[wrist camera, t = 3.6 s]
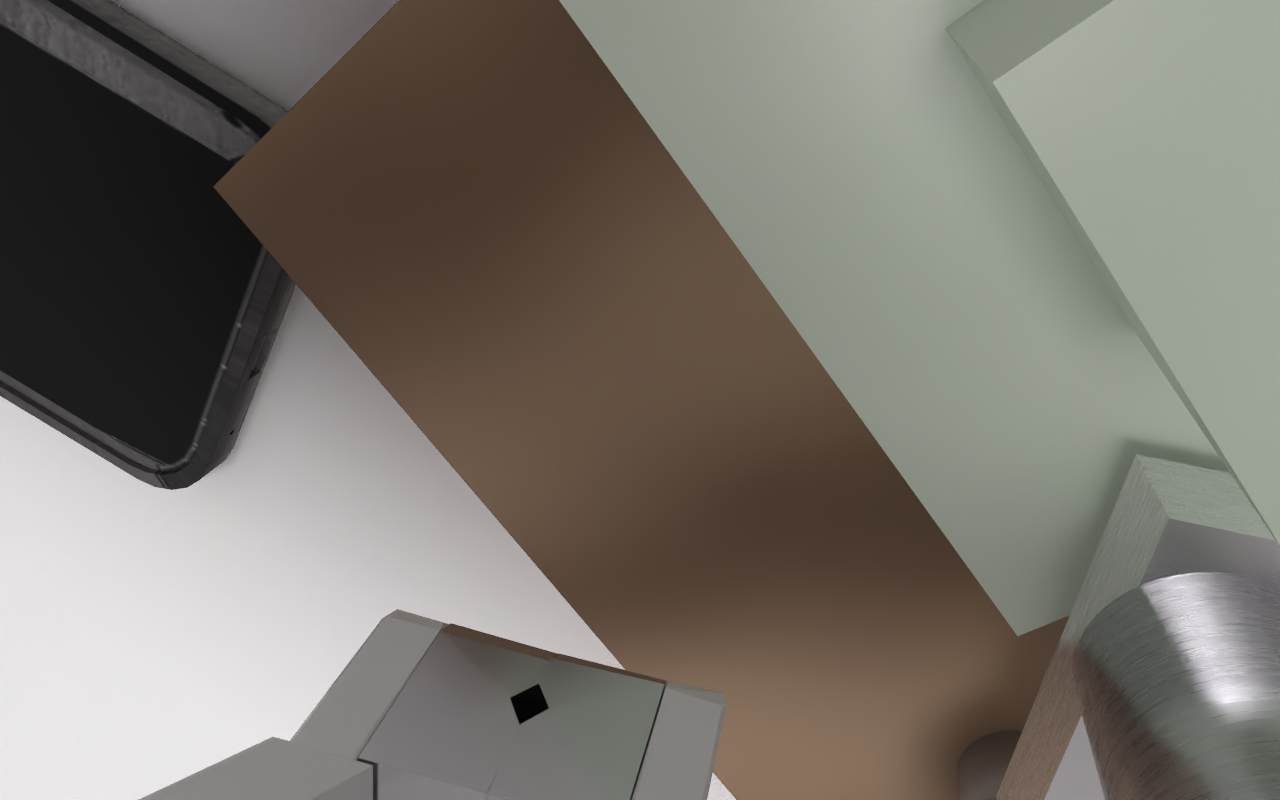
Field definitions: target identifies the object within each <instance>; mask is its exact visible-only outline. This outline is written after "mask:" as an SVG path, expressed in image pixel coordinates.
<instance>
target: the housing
mask: <svg viewBox="0 0 1280 800" xmlns="http://www.w3.org/2000/svg"><path fill="white" fill-rule="evenodd" d="M214 188H215V189H216V190H217V192H218V193H219V194H220V195H221V196H222V197H223V199H224V200H225V201H226V202H227V203H228V205H229V206H230V207H231V208H232V209H233V210H234V212H235V213H236V214H237V215H238V216H239V217H240V219H241V220H242V221H243V222H244V223H245V224H246V226H247V227H248V228H249V229H250V230H251V231H252V233H253V234H254V235H255V236H256V237H257V238H258V240H259V241H260V242H261V243H262V244H263V246H264V247H265V248H266V249H267V250H268V251H269V253H270V254H271V255H272V256H273V257H274V258H275V260H276V261H277V262H278V263H279V264H280V265H281V267H282V268H283V269H284V270H285V271H286V272H287V274H288V275H289V276H290V277H291V278H292V279H293V281H294V282H295V283H296V284H297V285H298V287H299V288H300V289H301V290H302V291H303V292H304V294H305V295H306V296H307V297H308V298H309V299H310V301H311V302H312V303H313V304H314V305H315V306H316V308H317V309H318V310H319V311H320V312H321V313H322V315H323V316H324V317H325V318H326V319H327V320H328V322H329V323H330V324H331V325H332V326H333V328H334V329H335V330H336V331H337V332H338V333H339V335H340V336H341V337H342V338H343V339H344V340H345V342H346V343H347V344H348V345H349V346H350V347H351V349H352V350H353V351H354V352H355V353H356V354H357V356H358V357H359V358H360V359H361V360H362V361H363V363H364V364H365V365H366V366H367V367H368V369H369V370H370V371H371V372H372V373H373V374H374V376H375V377H376V378H377V379H378V380H379V381H380V383H381V384H382V385H383V386H384V387H385V388H386V390H387V391H388V392H389V393H390V394H391V395H392V397H393V398H394V399H395V400H396V401H397V402H398V404H399V405H400V406H401V407H402V408H403V410H404V411H405V412H406V413H407V414H408V415H409V417H410V418H411V419H412V420H413V421H414V422H415V424H416V425H417V426H418V427H419V428H420V429H421V431H422V432H423V433H424V434H425V435H426V436H427V438H428V439H429V440H430V441H431V442H432V443H433V445H434V446H435V447H436V448H437V449H438V451H439V452H440V453H441V454H442V455H443V456H444V458H445V459H446V460H447V461H448V462H449V463H450V465H451V466H452V467H453V468H454V469H455V470H456V472H457V473H458V474H459V475H460V476H461V477H462V479H463V480H464V481H465V482H466V483H467V485H468V486H469V487H470V488H471V489H472V490H473V492H474V493H475V494H476V495H477V496H478V497H479V499H480V500H481V501H482V502H483V503H484V504H485V506H486V507H487V508H488V509H489V510H490V511H491V513H492V514H493V515H494V516H495V517H496V518H497V520H498V521H499V522H500V523H501V524H502V526H503V527H504V528H505V529H506V530H507V531H508V533H509V534H510V535H511V536H512V537H513V538H514V540H515V541H516V542H517V543H518V544H519V545H520V547H521V548H522V549H523V550H524V551H525V552H526V554H527V555H528V556H529V557H530V558H531V559H532V561H533V562H534V563H535V564H536V565H537V567H538V568H539V569H540V570H541V571H542V572H543V574H544V575H545V576H546V577H547V578H548V579H549V581H550V582H551V583H552V584H553V585H554V586H555V588H556V589H557V590H558V591H559V592H560V593H561V595H562V596H563V597H564V598H565V599H566V600H567V602H568V603H569V604H570V605H571V606H572V608H573V609H574V610H575V611H576V612H577V613H578V615H579V616H580V617H581V618H582V619H583V620H584V622H585V623H586V624H587V625H588V626H589V627H590V629H591V630H592V631H593V632H594V633H595V634H596V636H597V637H598V638H599V639H600V640H601V641H602V643H603V644H604V645H605V646H606V647H607V649H608V650H609V651H610V652H611V653H612V654H613V656H614V657H615V658H616V659H617V660H618V661H619V663H620V664H621V665H622V666H623V667H624V668H625V670H626V671H630V672H634V673H638V674H642V675H646V676H650V677H654V678H658V679H662V680H666V681H668V682H669V681H673V682H678V683H682V684H686V685H690V686H694V687H698V688H702V689H707V690H711V691H715V692H719V693H723V694H725V696H726V702H727V704H726V709H725V714H724V718H723V723H722V728H721V733H720V738H719V743H718V748H717V753H716V757H715V762H714V767H713V773H714V774H715V775H716V776H717V777H718V779H719V780H720V781H721V782H722V783H723V784H724V786H725V787H726V788H727V789H728V790H729V791H730V793H731V794H732V795H733V796H734V797H735V798H736V800H985V799H988V798H993V797H996V795H997V792H998V790H999V787H1000V785H1001V782H1002V780H1003V778H1004V775H1005V773H1006V770H1007V768H1008V765H1009V763H1010V760H1011V758H1012V756H1013V753H1014V751H1015V748H1016V746H1017V743H1018V741H1019V738H1020V736H1021V734H1022V731H1023V729H1024V726H1025V724H1026V721H1027V719H1028V717H1029V714H1030V712H1031V709H1032V707H1033V704H1034V702H1035V699H1036V697H1037V695H1038V692H1039V690H1040V687H1041V685H1042V682H1043V680H1044V678H1045V675H1046V673H1047V670H1048V668H1049V665H1050V663H1051V660H1052V658H1053V656H1054V653H1055V651H1056V648H1057V646H1058V643H1059V641H1060V638H1061V636H1062V634H1063V631H1064V629H1065V626H1066V624H1067V621H1068V619H1069V617H1070V615H1069V616H1067V617H1064V618H1062V619H1059V620H1057V621H1054V622H1052V623H1049V624H1047V625H1045V626H1042V627H1040V628H1037V629H1035V630H1032V631H1030V632H1027V633H1025V634H1022V635H1020V636H1017V635H1016V633H1015V632H1014V630H1013V629H1012V628H1011V626H1010V625H1009V624H1008V622H1007V621H1006V619H1005V618H1004V617H1003V615H1002V614H1001V612H1000V611H999V610H998V608H997V607H996V606H995V604H994V603H993V601H992V600H991V599H990V597H989V596H988V594H987V593H986V592H985V590H984V589H983V587H982V586H981V585H980V583H979V582H978V581H977V579H976V578H975V576H974V575H973V574H972V572H971V571H970V569H969V568H968V567H967V565H966V564H965V563H964V561H963V560H962V558H961V557H960V556H959V554H958V553H957V551H956V550H955V549H954V547H953V546H952V544H951V543H950V542H949V540H948V539H947V538H946V536H945V535H944V533H943V532H942V531H941V529H940V528H939V526H938V525H937V524H936V522H935V521H934V520H933V518H932V517H931V515H930V514H929V513H928V511H927V510H926V508H925V507H924V506H923V504H922V503H921V502H920V500H919V499H918V497H917V496H916V495H915V493H914V492H913V490H912V489H911V488H910V486H909V485H908V483H907V482H906V481H905V479H904V478H903V477H902V475H901V474H900V472H899V471H898V470H897V468H896V467H895V465H894V464H893V463H892V461H891V460H890V459H889V457H888V456H887V454H886V453H885V452H884V450H883V449H882V447H881V446H880V445H879V443H878V442H877V440H876V439H875V438H874V436H873V435H872V434H871V432H870V431H869V429H868V428H867V427H866V425H865V424H864V422H863V421H862V420H861V418H860V417H859V416H858V414H857V413H856V411H855V410H854V409H853V407H852V406H851V404H850V403H849V402H848V400H847V399H846V397H845V396H844V395H843V393H842V392H841V391H840V389H839V388H838V386H837V385H836V384H835V382H834V381H833V379H832V378H831V377H830V375H829V374H828V373H827V371H826V370H825V368H824V367H823V366H822V364H821V363H820V361H819V360H818V359H817V357H816V356H815V354H814V353H813V352H812V350H811V349H810V348H809V346H808V345H807V343H806V342H805V341H804V339H803V338H802V336H801V335H800V334H799V332H798V331H797V330H796V328H795V327H794V325H793V324H792V323H791V321H790V320H789V318H788V317H787V316H786V314H785V313H784V311H783V310H782V309H781V307H780V306H779V305H778V303H777V302H776V300H775V299H774V298H773V296H772V295H771V293H770V292H769V291H768V289H767V288H766V287H765V285H764V284H763V282H762V281H761V280H760V278H759V277H758V275H757V274H756V273H755V271H754V270H753V269H752V267H751V266H750V264H749V263H748V262H747V260H746V259H745V257H744V256H743V255H742V253H741V252H740V250H739V249H738V248H737V246H736V245H735V244H734V242H733V241H732V239H731V238H730V237H729V235H728V234H727V232H726V231H725V230H724V228H723V227H722V226H721V224H720V223H719V221H718V220H717V219H716V217H715V216H714V214H713V213H712V212H711V210H710V209H709V207H708V206H707V205H706V203H705V202H704V201H703V199H702V198H701V196H700V195H699V194H698V192H697V191H696V189H695V188H694V187H693V185H692V184H691V183H690V181H689V180H688V178H687V177H686V176H685V174H684V173H683V171H682V170H681V169H680V167H679V166H678V164H677V163H676V162H675V160H674V159H673V158H672V156H671V155H670V153H669V152H668V151H667V149H666V148H665V146H664V145H663V144H662V142H661V141H660V140H659V138H658V137H657V135H656V134H655V133H654V131H653V130H652V128H651V127H650V126H649V124H648V123H647V121H646V120H645V119H644V117H643V116H642V115H641V113H640V112H639V110H638V109H637V108H636V106H635V105H634V103H633V102H632V101H631V99H630V98H629V97H628V95H627V94H626V92H625V91H624V90H623V88H622V87H621V85H620V84H619V83H618V81H617V80H616V78H615V77H614V76H613V74H612V73H611V72H610V70H609V69H608V67H607V66H606V65H605V63H604V62H603V60H602V59H601V58H600V56H599V55H598V54H597V52H596V51H595V49H594V48H593V47H592V45H591V44H590V42H589V41H588V40H587V38H586V37H585V36H584V34H583V33H582V31H581V30H580V29H579V27H578V26H577V24H576V23H575V22H574V20H573V19H572V17H571V16H570V15H569V13H568V12H567V11H566V9H565V8H564V6H563V5H562V4H561V2H560V1H559V0H399V1H398V2H397V3H396V4H395V5H394V6H393V7H392V8H391V9H390V10H389V11H388V12H387V13H386V14H385V15H384V16H383V17H382V18H381V19H380V20H379V21H378V22H377V23H376V24H375V25H374V26H373V27H372V28H371V29H370V30H369V31H368V32H367V33H366V34H365V35H364V36H363V37H362V38H361V39H360V40H359V41H358V42H357V43H356V44H355V45H354V46H353V47H352V48H351V49H350V50H349V51H348V52H347V53H346V54H345V55H344V56H343V57H342V58H341V59H340V60H339V61H338V62H337V63H336V64H335V65H334V66H333V67H332V68H331V69H330V70H329V71H328V72H327V73H326V74H325V75H324V76H323V77H322V78H321V79H320V80H319V81H318V82H317V83H316V84H315V85H314V86H313V87H312V88H311V89H310V90H309V91H308V92H307V93H306V94H305V95H304V96H303V97H302V98H301V99H300V100H299V101H298V102H297V103H296V104H295V105H294V106H293V107H292V108H291V109H290V110H289V111H288V112H287V113H286V114H285V115H284V116H283V117H282V118H281V119H280V120H279V121H278V122H277V123H276V124H275V125H274V126H273V127H272V128H271V129H270V130H269V131H268V132H267V133H266V134H265V135H264V136H263V137H262V138H261V139H260V140H259V141H258V142H257V143H256V144H255V145H254V146H253V147H252V148H251V149H250V150H249V151H248V152H247V153H246V154H245V155H244V156H243V157H242V158H241V159H240V160H239V161H238V162H237V163H236V164H235V165H234V166H233V167H232V168H231V169H230V170H229V171H228V172H227V173H226V174H225V175H224V176H223V177H222V178H221V179H220V180H219V181H218V182H217V183H216V185H215V186H214ZM668 682H667V684H668Z"/></svg>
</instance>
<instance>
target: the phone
mask: <svg viewBox="0 0 1280 800" xmlns="http://www.w3.org/2000/svg"><path fill="white" fill-rule="evenodd" d="M286 113H287V111H286V110H284V109H283V108H281V107H280V106H278V105H276V104H275V103H273V102H272V101H270V100H268V99H267V98H265V97H264V96H262V95H260V94H259V93H257V92H256V91H254V90H252V89H251V88H249V87H248V86H246V85H244V84H243V83H241V82H239V81H238V80H236V79H235V78H233V77H231V76H230V75H228V74H227V73H225V72H223V71H222V70H220V69H219V68H217V67H215V66H214V65H212V64H211V63H209V62H207V61H206V60H204V59H203V58H201V57H199V56H198V55H196V54H194V53H193V52H191V51H190V50H188V49H186V48H185V47H183V46H182V45H180V44H178V43H177V42H175V41H174V40H172V39H170V38H169V37H167V36H166V35H164V34H162V33H161V32H159V31H157V30H156V29H154V28H153V27H151V26H149V25H148V24H146V23H145V22H143V21H141V20H140V19H138V18H137V17H135V16H133V15H132V14H130V13H129V12H127V11H125V10H124V9H122V8H121V7H119V6H117V5H116V4H114V3H112V2H111V1H109V0H0V396H2V397H3V398H5V399H7V400H8V401H10V402H12V403H13V404H15V405H16V406H18V407H20V408H21V409H23V410H25V411H26V412H28V413H30V414H31V415H33V416H35V417H36V418H38V419H40V420H41V421H43V422H45V423H46V424H48V425H50V426H51V427H53V428H55V429H56V430H58V431H59V432H61V433H63V434H64V435H66V436H68V437H69V438H71V439H73V440H74V441H76V442H78V443H79V444H81V445H83V446H84V447H86V448H88V449H89V450H91V451H93V452H94V453H96V454H97V455H99V456H101V457H102V458H104V459H106V460H107V461H109V462H111V463H112V464H114V465H116V466H117V467H119V468H121V469H122V470H124V471H126V472H127V473H129V474H130V475H132V476H134V477H135V478H137V479H139V480H141V481H143V482H146V483H148V484H150V485H152V486H154V487H159V488H165V489H171V490H173V489H180V488H186V487H189V486H190V485H192V484H193V483H195V482H197V481H198V480H200V479H201V478H202V477H204V476H205V475H206V474H208V473H209V472H210V471H211V470H213V469H214V468H215V467H217V466H218V465H219V464H221V463H222V462H223V461H224V460H225V459H226V458H227V456H228V455H229V453H230V452H231V450H232V449H233V446H234V444H235V441H236V439H237V436H238V433H239V431H240V428H241V426H242V423H243V420H244V418H245V415H246V413H247V410H248V407H249V405H250V402H251V400H252V397H253V394H254V392H255V389H256V387H257V384H258V381H259V379H260V376H261V374H262V371H263V368H264V366H265V363H266V361H267V358H268V355H269V353H270V350H271V348H272V345H273V342H274V340H275V337H276V335H277V332H278V329H279V327H280V324H281V322H282V319H283V316H284V314H285V311H286V309H287V306H288V303H289V301H290V298H291V296H292V293H293V290H294V288H295V285H296V283H295V282H294V281H293V279H292V278H291V277H290V276H289V275H288V274H287V272H286V271H285V270H284V269H283V268H282V267H281V265H280V264H279V263H278V262H277V261H276V260H275V258H274V257H273V256H272V255H271V254H270V253H269V251H268V250H267V249H266V248H265V247H264V246H263V244H262V243H261V242H260V241H259V240H258V238H257V237H256V236H255V235H254V234H253V233H252V231H251V230H250V229H249V228H248V227H247V226H246V224H245V223H244V222H243V221H242V220H241V219H240V217H239V216H238V215H237V214H236V213H235V212H234V210H233V209H232V208H231V207H230V206H229V205H228V203H227V202H226V201H225V200H224V199H223V197H222V196H221V195H220V194H219V193H218V192H217V190H216V189H215V188H214V186H215V185H216V183H217V182H218V181H219V180H220V179H221V178H222V177H223V176H224V175H225V174H226V173H227V172H228V171H229V170H230V169H231V168H232V167H233V166H234V165H235V164H236V163H237V162H238V161H239V160H240V159H241V158H242V157H243V156H244V155H245V154H246V153H247V152H248V151H249V150H250V149H251V148H252V147H253V146H254V145H255V144H256V143H257V142H258V141H259V140H260V139H261V138H262V137H263V136H264V135H265V134H266V133H267V132H268V131H269V130H270V129H271V128H272V127H273V126H274V125H275V124H276V123H277V122H278V121H279V120H280V119H281V118H282V117H283V116H284V115H285V114H286ZM264 336H265V337H264ZM261 344H262V345H261ZM259 349H260V350H259ZM256 357H257V358H256ZM253 365H254V366H253ZM233 430H234V432H233V434H231V435H230V433H231V431H233Z"/></svg>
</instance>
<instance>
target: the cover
mask: <svg viewBox="0 0 1280 800" xmlns="http://www.w3.org/2000/svg"><path fill="white" fill-rule="evenodd" d="M559 1H560V2H561V4H562V5H563V6H564V8H565V9H566V11H567V12H568V13H569V15H570V16H571V17H572V19H573V20H574V22H575V23H576V24H577V26H578V27H579V29H580V30H581V31H582V33H583V34H584V36H585V37H586V38H587V40H588V41H589V42H590V44H591V45H592V47H593V48H594V49H595V51H596V52H597V54H598V55H599V56H600V58H601V59H602V60H603V62H604V63H605V65H606V66H607V67H608V69H609V70H610V72H611V73H612V74H613V76H614V77H615V78H616V80H617V81H618V83H619V84H620V85H621V87H622V88H623V90H624V91H625V92H626V94H627V95H628V97H629V98H630V99H631V101H632V102H633V103H634V105H635V106H636V108H637V109H638V110H639V112H640V113H641V115H642V116H643V117H644V119H645V120H646V121H647V123H648V124H649V126H650V127H651V128H652V130H653V131H654V133H655V134H656V135H657V137H658V138H659V140H660V141H661V142H662V144H663V145H664V146H665V148H666V149H667V151H668V152H669V153H670V155H671V156H672V158H673V159H674V160H675V162H676V163H677V164H678V166H679V167H680V169H681V170H682V171H683V173H684V174H685V176H686V177H687V178H688V180H689V181H690V183H691V184H692V185H693V187H694V188H695V189H696V191H697V192H698V194H699V195H700V196H701V198H702V199H703V201H704V202H705V203H706V205H707V206H708V207H709V209H710V210H711V212H712V213H713V214H714V216H715V217H716V219H717V220H718V221H719V223H720V224H721V226H722V227H723V228H724V230H725V231H726V232H727V234H728V235H729V237H730V238H731V239H732V241H733V242H734V244H735V245H736V246H737V248H738V249H739V250H740V252H741V253H742V255H743V256H744V257H745V259H746V260H747V262H748V263H749V264H750V266H751V267H752V269H753V270H754V271H755V273H756V274H757V275H758V277H759V278H760V280H761V281H762V282H763V284H764V285H765V287H766V288H767V289H768V291H769V292H770V293H771V295H772V296H773V298H774V299H775V300H776V302H777V303H778V305H779V306H780V307H781V309H782V310H783V311H784V313H785V314H786V316H787V317H788V318H789V320H790V321H791V323H792V324H793V325H794V327H795V328H796V330H797V331H798V332H799V334H800V335H801V336H802V338H803V339H804V341H805V342H806V343H807V345H808V346H809V348H810V349H811V350H812V352H813V353H814V354H815V356H816V357H817V359H818V360H819V361H820V363H821V364H822V366H823V367H824V368H825V370H826V371H827V373H828V374H829V375H830V377H831V378H832V379H833V381H834V382H835V384H836V385H837V386H838V388H839V389H840V391H841V392H842V393H843V395H844V396H845V397H846V399H847V400H848V402H849V403H850V404H851V406H852V407H853V409H854V410H855V411H856V413H857V414H858V416H859V417H860V418H861V420H862V421H863V422H864V424H865V425H866V427H867V428H868V429H869V431H870V432H871V434H872V435H873V436H874V438H875V439H876V440H877V442H878V443H879V445H880V446H881V447H882V449H883V450H884V452H885V453H886V454H887V456H888V457H889V459H890V460H891V461H892V463H893V464H894V465H895V467H896V468H897V470H898V471H899V472H900V474H901V475H902V477H903V478H904V479H905V481H906V482H907V483H908V485H909V486H910V488H911V489H912V490H913V492H914V493H915V495H916V496H917V497H918V499H919V500H920V502H921V503H922V504H923V506H924V507H925V508H926V510H927V511H928V513H929V514H930V515H931V517H932V518H933V520H934V521H935V522H936V524H937V525H938V526H939V528H940V529H941V531H942V532H943V533H944V535H945V536H946V538H947V539H948V540H949V542H950V543H951V544H952V546H953V547H954V549H955V550H956V551H957V553H958V554H959V556H960V557H961V558H962V560H963V561H964V563H965V564H966V565H967V567H968V568H969V569H970V571H971V572H972V574H973V575H974V576H975V578H976V579H977V581H978V582H979V583H980V585H981V586H982V587H983V589H984V590H985V592H986V593H987V594H988V596H989V597H990V599H991V600H992V601H993V603H994V604H995V606H996V607H997V608H998V610H999V611H1000V612H1001V614H1002V615H1003V617H1004V618H1005V619H1006V621H1007V622H1008V624H1009V625H1010V626H1011V628H1012V629H1013V630H1014V632H1015V633H1016V635H1017V636H1020V635H1022V634H1025V633H1027V632H1030V631H1032V630H1035V629H1037V628H1040V627H1042V626H1045V625H1047V624H1049V623H1052V622H1054V621H1057V620H1059V619H1062V618H1064V617H1067V616H1069V615H1070V614H1071V612H1072V609H1073V607H1074V604H1075V602H1076V599H1077V597H1078V595H1079V592H1080V590H1081V587H1082V585H1083V582H1084V580H1085V577H1086V575H1087V573H1088V570H1089V568H1090V565H1091V563H1092V560H1093V558H1094V556H1095V553H1096V551H1097V548H1098V546H1099V543H1100V541H1101V538H1102V536H1103V534H1104V531H1105V529H1106V526H1107V524H1108V521H1109V519H1110V517H1111V514H1112V512H1113V509H1114V507H1115V504H1116V502H1117V499H1118V497H1119V495H1120V492H1121V490H1122V487H1123V485H1124V482H1125V480H1126V477H1127V475H1128V473H1129V470H1130V468H1131V465H1132V463H1133V460H1134V458H1135V456H1136V454H1139V455H1144V456H1149V457H1154V458H1159V459H1164V460H1168V461H1173V462H1178V463H1183V464H1188V465H1193V466H1198V467H1203V468H1208V469H1213V470H1218V471H1223V472H1228V473H1231V475H1232V476H1233V478H1234V479H1235V481H1236V482H1237V484H1238V485H1239V487H1240V488H1241V490H1242V491H1243V493H1244V494H1245V496H1246V497H1247V498H1248V500H1249V501H1250V503H1251V504H1252V506H1253V507H1254V509H1255V510H1256V512H1257V513H1258V515H1259V516H1260V518H1261V519H1262V521H1263V522H1264V524H1265V525H1266V527H1267V528H1268V530H1269V531H1270V533H1271V534H1272V536H1273V537H1274V538H1275V540H1276V541H1277V543H1278V544H1279V546H1280V0H559Z"/></svg>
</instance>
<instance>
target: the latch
mask: <svg viewBox="0 0 1280 800" xmlns="http://www.w3.org/2000/svg"><path fill="white" fill-rule="evenodd" d="M985 800H1280V546H1279V544H1278V543H1277V541H1276V540H1275V538H1274V537H1273V536H1272V534H1271V533H1270V531H1269V530H1268V528H1267V527H1266V525H1265V524H1264V522H1263V521H1262V519H1261V518H1260V516H1259V515H1258V513H1257V512H1256V510H1255V509H1254V507H1253V506H1252V504H1251V503H1250V501H1249V500H1248V498H1247V497H1246V496H1245V494H1244V493H1243V491H1242V490H1241V488H1240V487H1239V485H1238V484H1237V482H1236V481H1235V479H1234V478H1233V476H1232V475H1231V473H1228V472H1223V471H1218V470H1213V469H1208V468H1203V467H1198V466H1193V465H1188V464H1183V463H1178V462H1173V461H1168V460H1164V459H1159V458H1154V457H1149V456H1144V455H1139V454H1136V456H1135V458H1134V460H1133V463H1132V465H1131V468H1130V470H1129V473H1128V475H1127V477H1126V480H1125V482H1124V485H1123V487H1122V490H1121V492H1120V495H1119V497H1118V499H1117V502H1116V504H1115V507H1114V509H1113V512H1112V514H1111V517H1110V519H1109V521H1108V524H1107V526H1106V529H1105V531H1104V534H1103V536H1102V538H1101V541H1100V543H1099V546H1098V548H1097V551H1096V553H1095V556H1094V558H1093V560H1092V563H1091V565H1090V568H1089V570H1088V573H1087V575H1086V577H1085V580H1084V582H1083V585H1082V587H1081V590H1080V592H1079V595H1078V597H1077V599H1076V602H1075V604H1074V607H1073V609H1072V612H1071V614H1070V617H1069V619H1068V621H1067V624H1066V626H1065V629H1064V631H1063V634H1062V636H1061V638H1060V641H1059V643H1058V646H1057V648H1056V651H1055V653H1054V656H1053V658H1052V660H1051V663H1050V665H1049V668H1048V670H1047V673H1046V675H1045V678H1044V680H1043V682H1042V685H1041V687H1040V690H1039V692H1038V695H1037V697H1036V699H1035V702H1034V704H1033V707H1032V709H1031V712H1030V714H1029V717H1028V719H1027V721H1026V724H1025V726H1024V729H1023V731H1022V734H1021V736H1020V738H1019V741H1018V743H1017V746H1016V748H1015V751H1014V753H1013V756H1012V758H1011V760H1010V763H1009V765H1008V768H1007V770H1006V773H1005V775H1004V778H1003V780H1002V782H1001V785H1000V787H999V790H998V792H997V795H996V797H993V798H988V799H985Z"/></svg>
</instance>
